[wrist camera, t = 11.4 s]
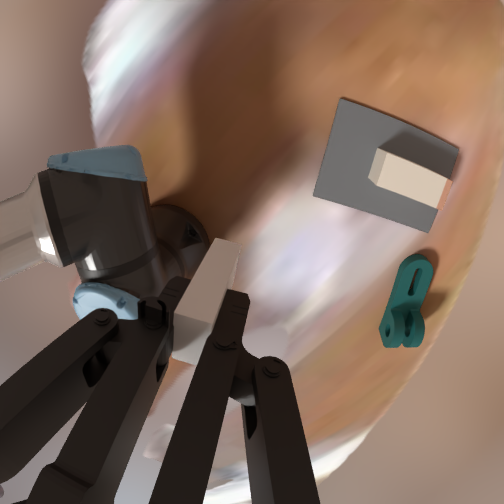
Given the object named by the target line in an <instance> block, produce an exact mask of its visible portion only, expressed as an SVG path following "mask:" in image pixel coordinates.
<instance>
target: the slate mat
mask: <svg viewBox="0 0 504 504" xmlns="http://www.w3.org/2000/svg"><path fill="white" fill-rule="evenodd" d="M377 148H379V149H382V150H384V151H387V152H390V153H392V154H395V155H397V156H400V157H402V158H404V159H407V160H409V161H412V162H414V163H416V164H419V165H421V166H423V167H425V168H428V169H430V170H432V171H434V172H436V173H438V174H440V175H442V176H444V177H446V178H448V179H450V176H451V173H452V170H453V167H454V164H455V161H456V158H457V154H458V151H459V149H457V148H455V147H453V146H452V145H450V144H448V143H446V142H444V141H442V140H440V139H438V138H436V137H434V136H432V135H430V134H428V133H426V132H424V131H422V130H420V129H417V128H415V127H413V126H411V125H409V124H406V123H404V122H402V121H399V120H397V119H395V118H392V117H390V116H387V115H385V114H382V113H380V112H377V111H375V110H372V109H369V108H367V107H364V106H361V105H358V104H355V103H352V102H349V101H346V100H343V99H339V103H338V107H337V111H336V115H335V118H334V122H333V126H332V129H331V133H330V137H329V140H328V144H327V148H326V151H325V155H324V158H323V162H322V165H321V169H320V172H319V176H318V179H317V182H316V186H315V189H314V193H313V196H314V197H318V198H321V199H325V200H328V201H332V202H335V203H338V204H342V205H345V206H348V207H352V208H355V209H358V210H361V211H364V212H368V213H371V214H374V215H377V216H380V217H383V218H386V219H389V220H392V221H395V222H398V223H401V224H404V225H406V226H409V227H412V228H415V229H418V230H420V231H423V232H426V233H428V232H429V230H430V228H431V225H432V223H433V221H434V218H435V216H436V213H437V211H438V209H436V208H434V207H431V206H429V205H426V204H424V203H422V202H419V201H417V200H414V199H411V198H409V197H406V196H404V195H401V194H398V193H396V192H393V191H390V190H387V189H385V188H382V187H379V186H376V185H375V184H374V183H373V182H372V181H371V180H370V179H369V178H368V176H369V173H370V170H371V167H372V163H373V160H374V157H375V154H376V150H377Z"/></svg>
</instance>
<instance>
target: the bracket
mask: <svg viewBox="0 0 504 504" xmlns="http://www.w3.org/2000/svg"><path fill="white" fill-rule="evenodd" d="M416 269H418V270H417V274H416V277H415V280H414V283H413V285H412V288H411V289H409V288H410V285H411V282H412V279H413V276H414V273H415V270H416ZM432 276H433V267H432V265H431V264H430V262H429V261H428V259H427V258H426V257H425V256H423V255H420V254H414V255H411V256H409V257H407V258H406V259H405V260H404V261H403V262H402V263H401V265H400V266H399V269H398V273H397V276H396V279H395V282H394V286H393V289H392V292H391V295H390V298H389V301H388V304H387V307H386V310H385V313H384V315H383V318H382V321H381V324H380V326H379V331H380V335H381V338H382V342H383V345H384V346H385V347H386V348H398V347H399V346H400V345H401V343H402V344H403V346H404V347H418V346H419V345H420V344H421V343H422V340H423V337H424V332H425V324H424V319H423V317H422V315H421V313H420V308H421V305H422V303H423V300H424V298H425V295H426V293H427V290H428V287H429V284H430V282H431V279H432Z"/></svg>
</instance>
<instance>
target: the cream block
mask: <svg viewBox="0 0 504 504" xmlns="http://www.w3.org/2000/svg"><path fill="white" fill-rule="evenodd" d="M368 178H369V179H370V180H371V181H372V182H373V183H374V184H375V185H376V186H379V187H382V188H385V189H387V190H390V191H393V192H396V193H398V194H401V195H404V196H406V197H409V198H411V199H414V200H417V201H419V202H422V203H424V204H426V205H429V206H431V207H434V208H436V209H439V210H441V211H442V209H443V207H444V204H445V202H446V199H447V196H448V194H449V191H450V188H451V185H452V183H453V181H451V180H449V179H448V178H446V177H444V176H442V175H440V174H438V173H436V172H434V171H432V170H430V169H428V168H425V167H423V166H421V165H419V164H416V163H414V162H412V161H409V160H407V159H404V158H402V157H400V156H397V155H395V154H392V153H390V152H387V151H384V150H382V149H379V148H377V150H376V154H375V157H374V160H373V163H372V167H371V170H370V173H369V176H368Z"/></svg>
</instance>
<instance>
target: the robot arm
mask: <svg viewBox="0 0 504 504" xmlns="http://www.w3.org/2000/svg"><path fill="white" fill-rule="evenodd" d="M47 167H49V169H47V170H45V171H42V172H39V173H37V174H35V175H34V177H33V179H32V181H31V183H30V185H29V187H28V188H27V189H26V191H25V192H22V193H20V194H17V195H15V196H13V197H10V198H8V199H6V200H4V201H1V202H0V282H1V281H3V280H5V279H7V278H9V277H11V276H14V275H15V274H18V273H20V272H22V271H24V270H27V269H29V268H31V267H33V266H35V265H38V264H40V263H42V262H44V261H45V262H50V263H52V264H54V265H56V266H58V267H60V268H63V267H65V266H67V265H70V264H72V263H75V265H76V268H77V271H78V273H79V276H80V279H81V282H82V284H80V285H79V286H78V287H77V288H76V290H75V293H74V297H73V306H74V309H75V312H76V314H77V315H78V317H79V318H80V321H78V322H77V323H76V324H74V325H73V326H72V327H71V328H69V329H68V330H67V331H66V332H64V333H63V334H62V335H61V336H59V337H58V338H57V339H56V340H54V341H53V342H52V343H51V344H50V345H48V346H47V347H46V348H44V349H43V350H42V351H41V352H40V353H38V354H37V355H36V356H35V357H33V358H32V359H31V360H30V361H29V362H27V364H25V365H24V366H23V367H21V368H20V369H19V370H18V371H17V372H16V373H15V374H13V375H12V376H11V377H10V378H9V379H7V380H6V382H4V383H3V384H2V385H1V386H0V484H1V483H3V482H5V481H8V480H9V479H10V478H12V477H14V476H15V475H16V474H17V473H18V472H19V471H21V470H22V469H23V468H24V467H25V465H26V464H27V463H28V462H29V461H30V460H31V459H32V458H33V457H34V456H35V455H36V454H37V453H38V452H39V451H40V450H41V449H42V447H44V446H45V444H46V443H47V442H48V441H49V440H50V439H51V438H52V437H53V436H54V435H55V434H56V433H57V432H58V431H59V430H60V429H61V428H62V427H63V426H64V425H65V424H66V423H67V422H68V421H69V420H70V418H72V416H73V415H74V414H75V413H76V412H77V411H78V410H79V409H80V408H81V407H82V406H83V405H84V404H85V403H86V402H87V403H86V405H85V407H84V408H83V410H82V412H81V414H80V416H79V417H78V419H77V421H76V423H75V425H74V427H73V428H72V430H71V432H70V434H69V436H68V438H67V440H66V442H65V444H64V446H63V447H62V449H61V451H60V453H59V456H58V457H57V459H56V461H55V462H53V463H51V464H48V465H46V466H45V467H44V468H43V469H42V470H41V472H40V474H39V476H38V478H37V480H36V482H35V484H34V486H33V488H32V491H31V493H30V495H29V497H28V499H27V500H23V501H20V502H16V503H13V504H114V498H115V495H116V492H117V490H118V487H119V485H120V482H121V479H122V477H123V474H124V472H125V469H126V467H127V464H128V462H129V459H130V456H131V454H132V452H133V449H134V447H135V444H136V442H137V439H138V437H139V434H140V432H141V430H142V427H143V425H144V422H145V420H146V418H147V415H148V413H149V410H150V408H151V406H152V403H153V401H154V399H155V396H156V394H157V392H158V389H159V387H160V385H161V382H162V380H163V378H164V375H165V373H166V371H167V368H168V364H169V357H170V355H171V353H172V358H174V359H177V360H180V361H184V362H187V363H190V364H194V365H197V367H196V369H195V372H194V375H193V378H192V381H191V384H190V387H189V389H188V392H187V395H186V397H185V400H184V403H183V406H182V409H181V411H180V414H179V417H178V420H177V423H176V426H175V428H174V431H173V434H172V437H171V440H170V443H169V446H168V448H167V451H166V454H165V457H164V460H163V463H162V466H161V469H160V472H159V475H158V478H157V480H156V483H155V486H154V489H153V492H152V495H151V498H150V501H149V504H203V500H204V496H205V492H206V488H207V484H208V480H209V476H210V472H211V468H212V464H213V460H214V456H215V452H216V448H217V443H218V439H219V435H220V431H221V427H222V423H223V419H224V414H225V410H226V406H227V402H228V397H231V398H233V399H234V400H236V401H238V402H240V403H241V408H242V419H243V428H244V438H245V447H246V456H247V465H248V474H249V483H250V491H251V499H252V504H320V500H319V496H318V491H317V487H316V482H315V478H314V473H313V469H312V465H311V460H310V456H309V452H308V447H307V443H306V439H305V434H304V430H303V426H302V421H301V417H300V413H299V409H298V404H297V400H296V396H295V392H294V387H293V383H292V379H291V375H290V371H289V368H288V366H287V364H286V363H285V362H283V361H282V360H281V359H279V358H277V357H272V356H267V357H262V358H260V359H259V358H257V357H255V356H253V355H251V354H250V353H248V352H247V351H246V350H245V348H244V346H243V344H242V336H243V332H244V327H245V323H246V318H247V314H248V310H249V305H250V299H249V297H248V294H246V293H242V292H238V291H234V290H231V288H232V285H233V281H234V277H235V272H236V268H237V263H238V259H239V254H240V250H241V245H242V244H239V243H235V242H231V241H227V240H223V239H219V238H215V239H214V241H213V243H212V245H211V246H209V240H208V236H207V234H206V231H205V230H204V228H203V226H202V225H201V223H200V222H199V221H198V220H197V219H196V218H195V217H194V216H193V215H192V214H190V213H189V212H187V211H186V210H184V209H182V208H179V207H176V206H172V205H158V206H155V207H152V208H151V206H150V200H149V194H148V188H147V177H146V176H145V172H144V168H143V163H142V158H141V154H140V152H139V151H138V149H137V148H135V147H134V146H131V145H119V146H110V147H102V148H95V149H88V150H81V151H74V152H69V153H63V154H57V155H52V156H50V157H49V159H48V163H47ZM3 494H4V491H3V488H2V486H1V485H0V497H2V496H3Z"/></svg>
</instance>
